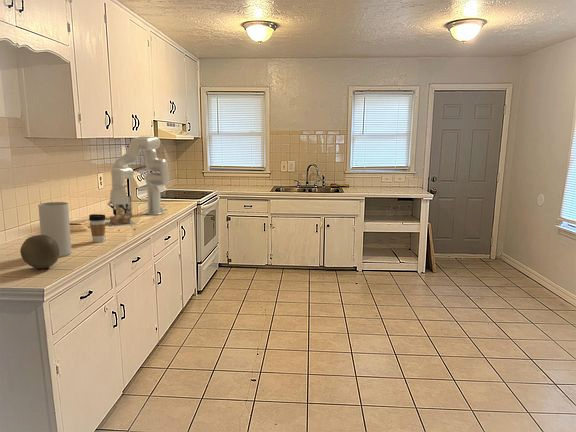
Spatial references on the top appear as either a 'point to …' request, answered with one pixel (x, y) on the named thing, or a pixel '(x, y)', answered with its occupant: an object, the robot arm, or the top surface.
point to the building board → (119, 225)
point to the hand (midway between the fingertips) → (119, 214)
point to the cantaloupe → (40, 251)
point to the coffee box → (128, 209)
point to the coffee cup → (97, 227)
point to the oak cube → (120, 213)
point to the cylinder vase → (56, 224)
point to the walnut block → (119, 220)
